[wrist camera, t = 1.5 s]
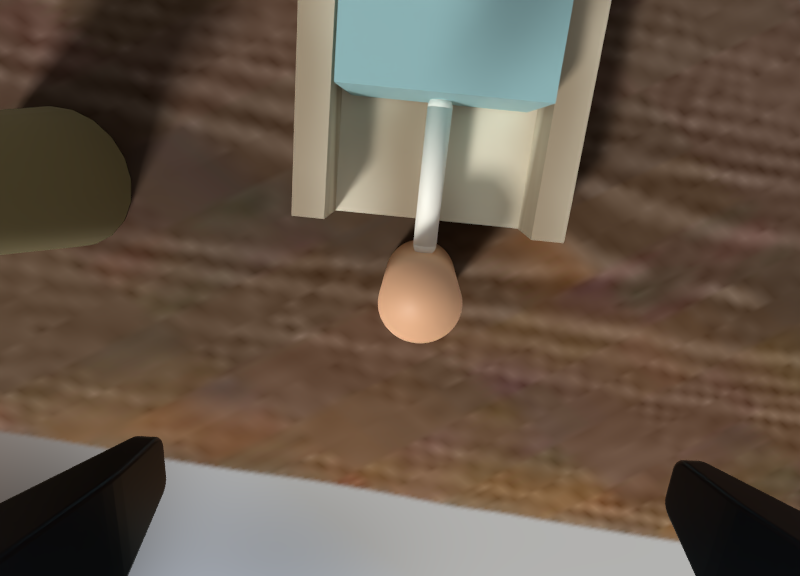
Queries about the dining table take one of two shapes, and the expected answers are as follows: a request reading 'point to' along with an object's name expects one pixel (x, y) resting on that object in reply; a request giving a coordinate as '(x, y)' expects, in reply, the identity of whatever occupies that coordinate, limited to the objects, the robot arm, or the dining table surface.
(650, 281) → the dining table surface
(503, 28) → the lever with tan knob
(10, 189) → the cork
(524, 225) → the lane
